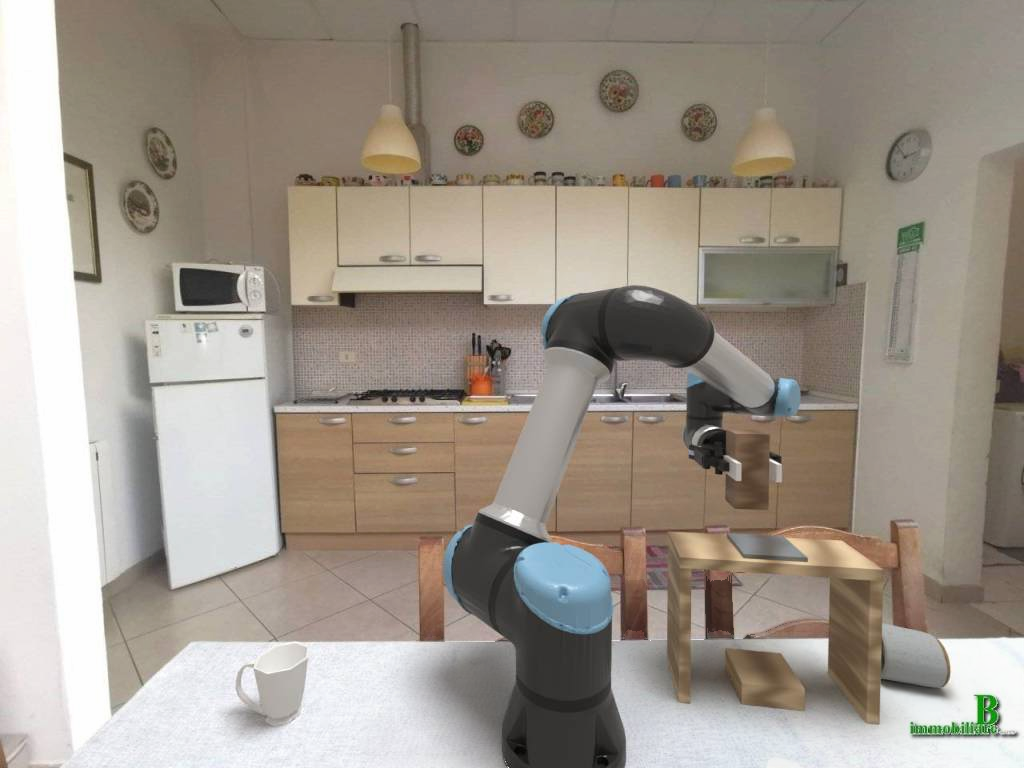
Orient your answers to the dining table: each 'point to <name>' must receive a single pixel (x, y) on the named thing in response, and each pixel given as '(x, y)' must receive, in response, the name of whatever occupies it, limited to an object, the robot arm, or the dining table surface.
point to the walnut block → (749, 469)
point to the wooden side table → (769, 672)
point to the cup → (278, 682)
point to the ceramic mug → (913, 657)
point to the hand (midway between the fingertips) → (758, 472)
